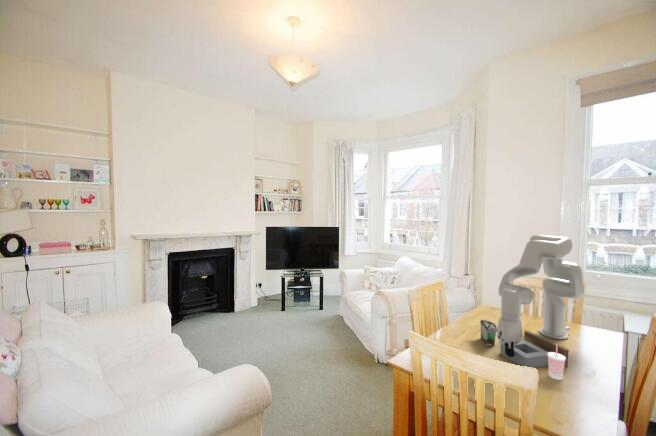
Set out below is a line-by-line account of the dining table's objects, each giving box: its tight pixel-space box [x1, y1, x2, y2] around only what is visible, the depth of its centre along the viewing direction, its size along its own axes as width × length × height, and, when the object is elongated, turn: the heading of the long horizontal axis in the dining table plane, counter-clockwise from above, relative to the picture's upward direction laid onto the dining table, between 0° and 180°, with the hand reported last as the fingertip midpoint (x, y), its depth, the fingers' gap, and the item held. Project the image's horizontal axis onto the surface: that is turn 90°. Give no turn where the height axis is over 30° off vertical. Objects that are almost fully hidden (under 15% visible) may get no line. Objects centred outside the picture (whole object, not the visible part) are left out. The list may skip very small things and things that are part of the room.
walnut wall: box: [523, 330, 570, 369], centre depth 138 cm, size 2×20×8 cm, turn 14°
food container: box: [480, 319, 498, 348], centre depth 151 cm, size 12×6×10 cm, turn 168°
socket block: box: [499, 339, 548, 369], centre depth 136 cm, size 14×14×5 cm
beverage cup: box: [547, 343, 566, 381], centre depth 122 cm, size 6×6×14 cm
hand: (509, 355), depth 134 cm, fingers closed
